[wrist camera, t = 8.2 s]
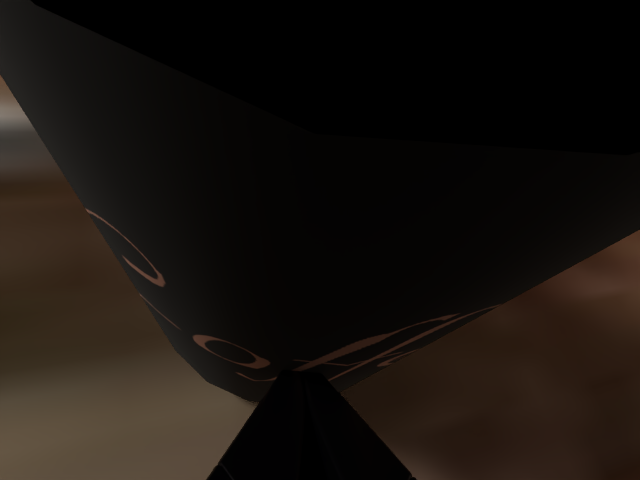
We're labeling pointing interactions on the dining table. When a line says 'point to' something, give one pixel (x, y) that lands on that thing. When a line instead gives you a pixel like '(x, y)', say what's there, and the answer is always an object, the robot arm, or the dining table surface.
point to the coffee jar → (334, 162)
